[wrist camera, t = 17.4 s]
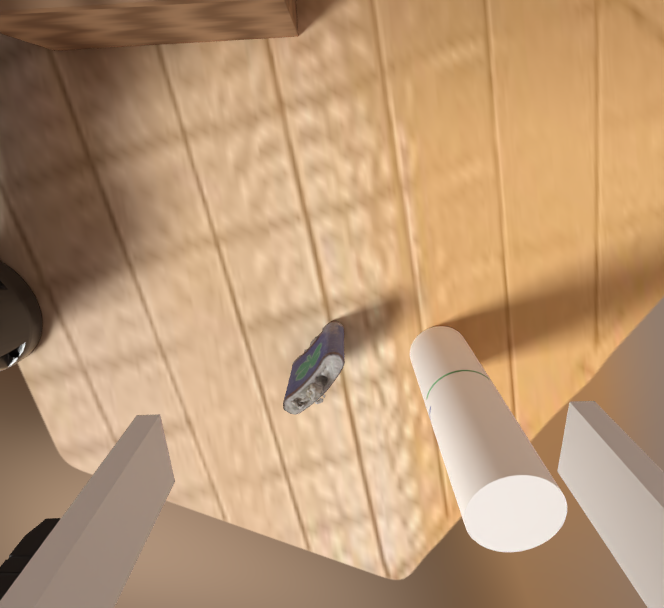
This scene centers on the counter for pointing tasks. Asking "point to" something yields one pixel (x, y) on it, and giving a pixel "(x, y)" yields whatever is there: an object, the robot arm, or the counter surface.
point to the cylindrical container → (484, 448)
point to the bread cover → (144, 21)
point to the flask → (315, 369)
